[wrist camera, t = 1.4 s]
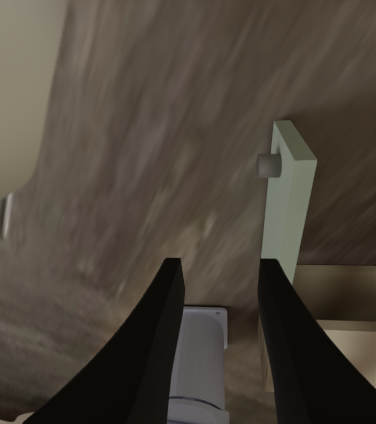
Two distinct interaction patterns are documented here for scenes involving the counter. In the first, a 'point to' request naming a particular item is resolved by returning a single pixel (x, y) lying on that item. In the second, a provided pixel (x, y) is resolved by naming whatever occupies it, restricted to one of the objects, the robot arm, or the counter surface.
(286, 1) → the counter surface
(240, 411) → the counter surface
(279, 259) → the door
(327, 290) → the cabinet
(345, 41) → the counter surface
